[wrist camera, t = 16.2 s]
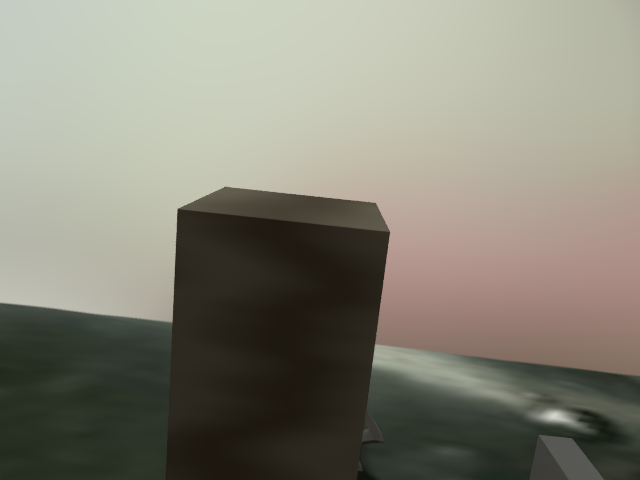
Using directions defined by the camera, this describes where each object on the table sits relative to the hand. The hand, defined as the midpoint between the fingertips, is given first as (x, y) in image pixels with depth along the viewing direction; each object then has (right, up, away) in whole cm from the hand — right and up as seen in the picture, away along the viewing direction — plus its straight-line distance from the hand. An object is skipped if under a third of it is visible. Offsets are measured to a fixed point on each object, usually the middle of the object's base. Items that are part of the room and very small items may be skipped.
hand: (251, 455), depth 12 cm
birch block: (-1, -7, +8) cm, 11 cm away
